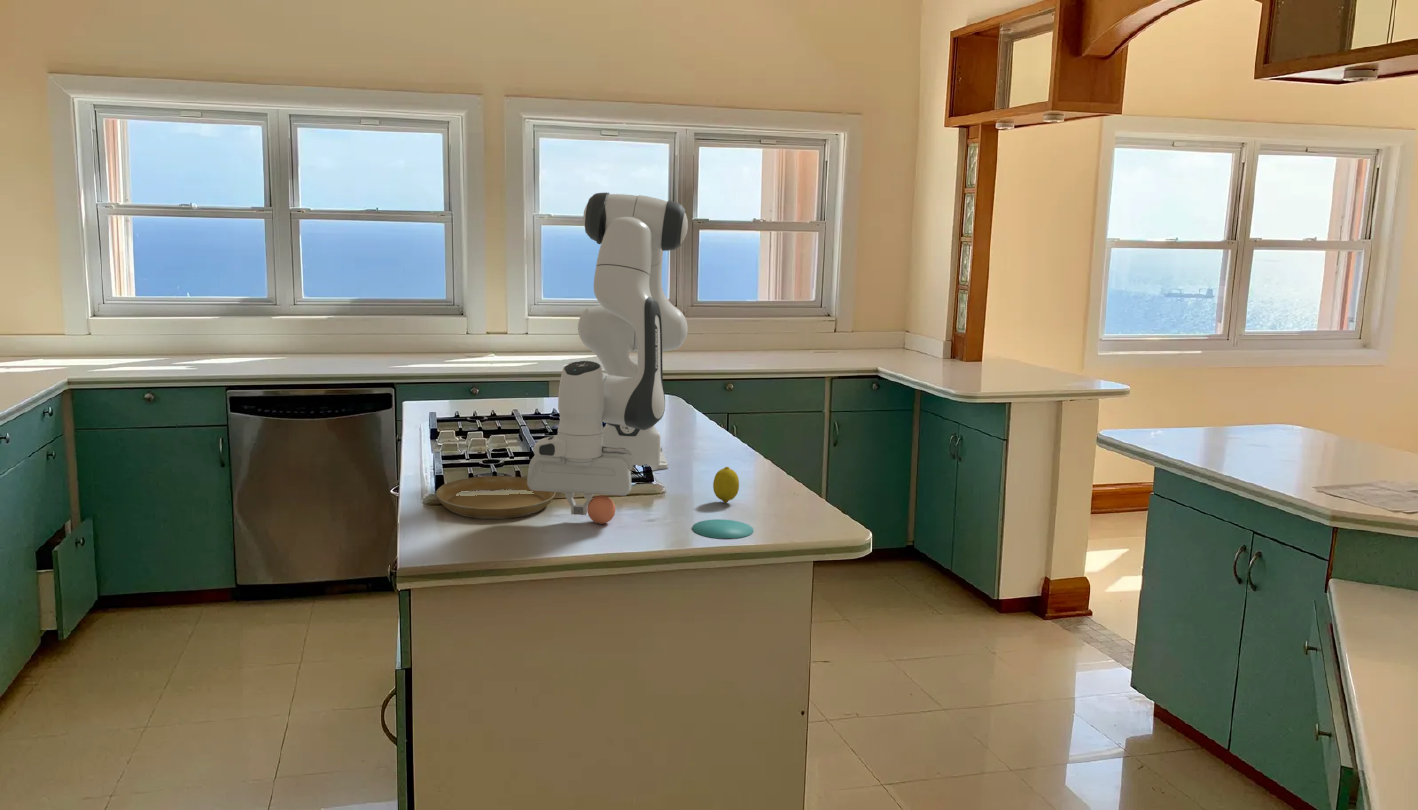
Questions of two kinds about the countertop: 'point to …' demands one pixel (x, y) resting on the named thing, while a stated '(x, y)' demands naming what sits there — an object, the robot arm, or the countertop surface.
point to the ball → (601, 509)
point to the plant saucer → (493, 498)
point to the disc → (722, 529)
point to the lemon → (726, 484)
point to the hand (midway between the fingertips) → (579, 514)
